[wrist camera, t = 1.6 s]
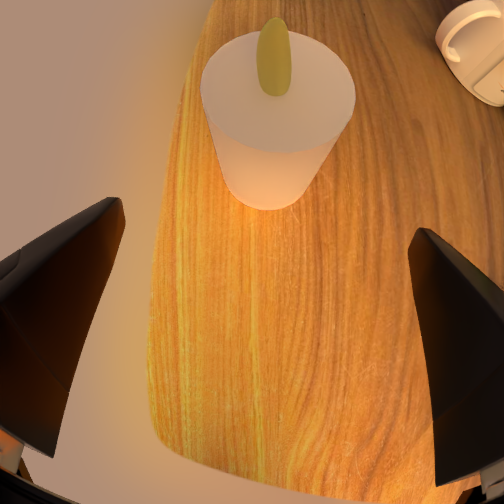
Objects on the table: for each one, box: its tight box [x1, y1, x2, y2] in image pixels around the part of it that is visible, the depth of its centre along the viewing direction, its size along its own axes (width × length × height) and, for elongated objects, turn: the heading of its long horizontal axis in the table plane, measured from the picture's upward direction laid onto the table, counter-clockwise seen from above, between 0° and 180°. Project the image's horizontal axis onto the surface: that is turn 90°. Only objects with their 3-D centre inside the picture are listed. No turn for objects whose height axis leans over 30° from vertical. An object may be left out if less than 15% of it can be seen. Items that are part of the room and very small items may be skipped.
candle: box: [200, 17, 356, 211], centre depth 15 cm, size 6×6×15 cm
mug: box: [435, 0, 504, 107], centre depth 17 cm, size 10×12×11 cm
